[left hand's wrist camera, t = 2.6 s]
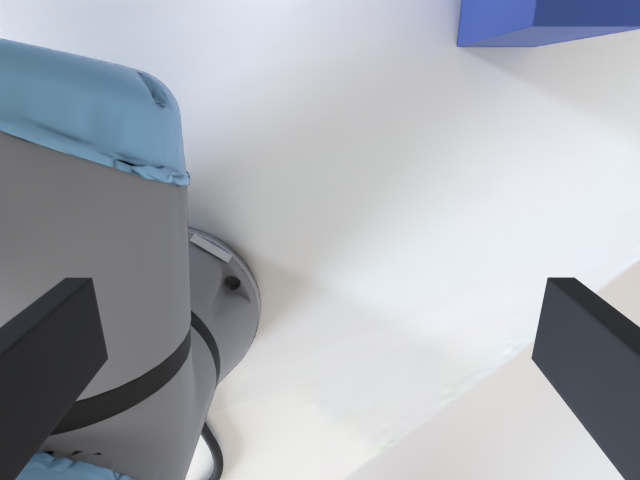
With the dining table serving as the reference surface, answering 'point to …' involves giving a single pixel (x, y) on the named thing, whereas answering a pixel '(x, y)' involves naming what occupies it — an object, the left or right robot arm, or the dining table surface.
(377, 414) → the dining table surface
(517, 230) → the dining table surface
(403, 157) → the dining table surface
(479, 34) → the box
